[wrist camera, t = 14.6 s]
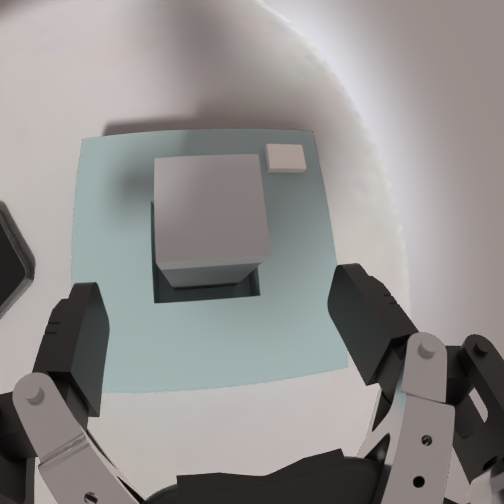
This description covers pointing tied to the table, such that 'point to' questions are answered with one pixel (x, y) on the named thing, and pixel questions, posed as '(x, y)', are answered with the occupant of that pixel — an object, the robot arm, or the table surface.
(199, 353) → the socket
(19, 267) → the phone
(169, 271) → the plug
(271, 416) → the table surface
